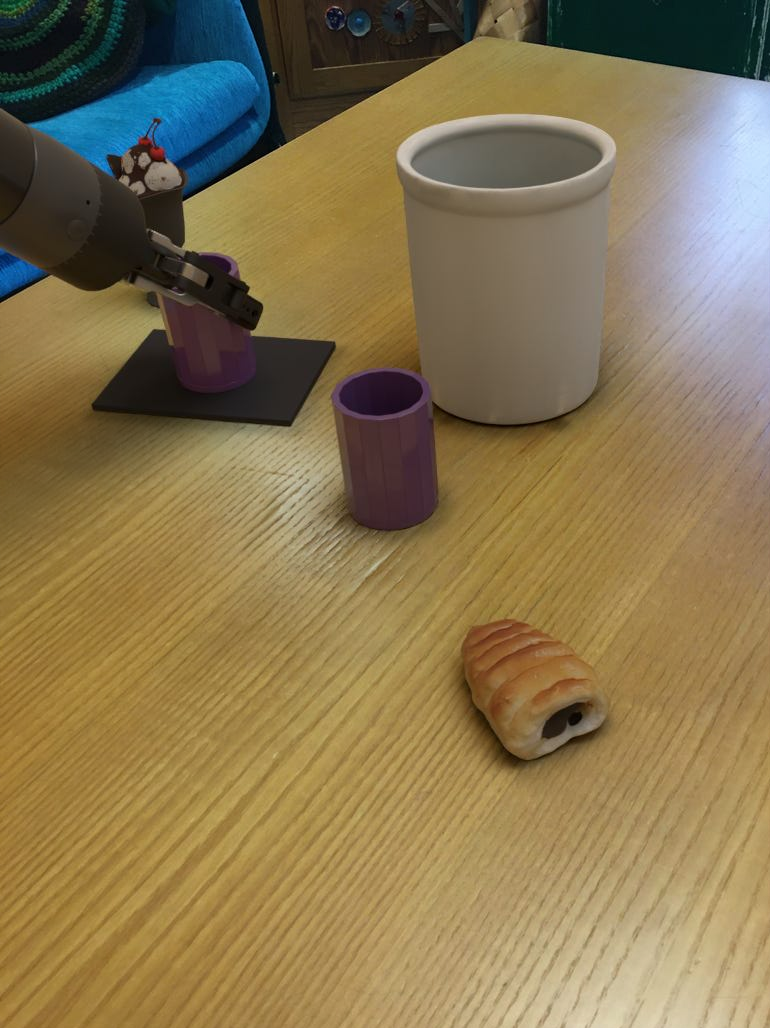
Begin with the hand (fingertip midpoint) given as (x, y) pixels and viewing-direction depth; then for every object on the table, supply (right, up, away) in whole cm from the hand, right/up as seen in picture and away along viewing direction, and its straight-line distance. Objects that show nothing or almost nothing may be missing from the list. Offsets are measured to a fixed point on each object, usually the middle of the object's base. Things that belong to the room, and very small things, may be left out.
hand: (216, 303), depth 84 cm
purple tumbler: (+14, -16, -10) cm, 24 cm away
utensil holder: (+23, -6, +2) cm, 23 cm away
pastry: (+23, -30, -23) cm, 44 cm away
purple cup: (-1, -5, +3) cm, 5 cm away
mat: (-1, -5, +3) cm, 6 cm away
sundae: (-7, +5, +14) cm, 16 cm away
